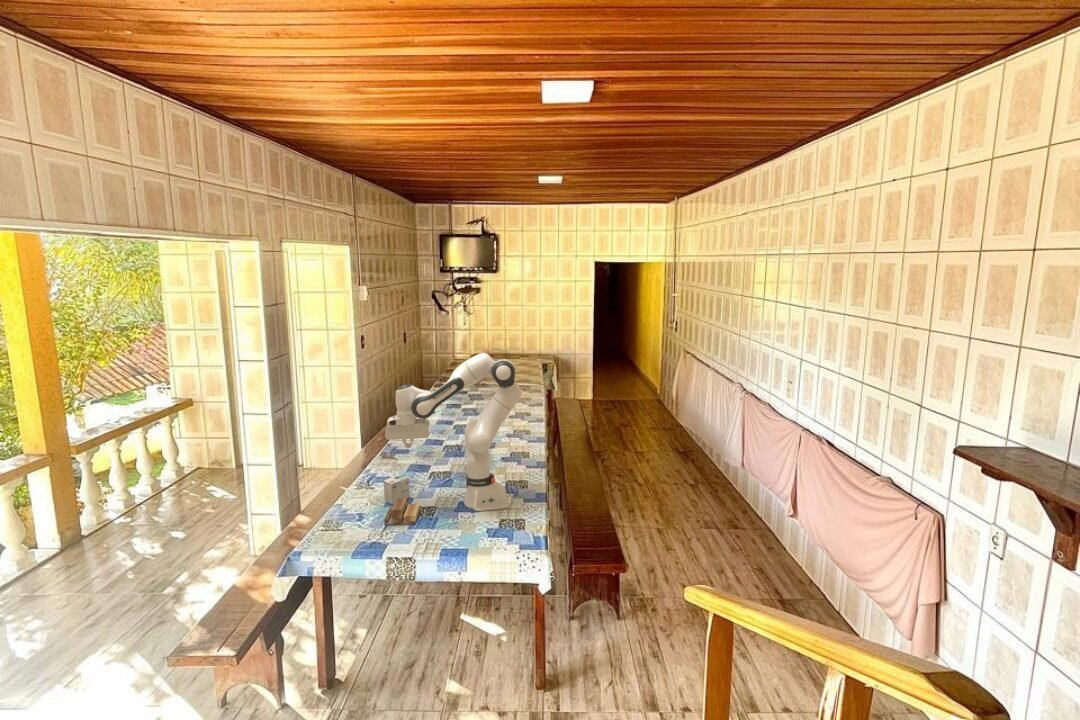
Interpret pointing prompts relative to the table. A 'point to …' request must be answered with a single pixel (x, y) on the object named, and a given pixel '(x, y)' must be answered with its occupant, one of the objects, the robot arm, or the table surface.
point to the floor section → (405, 515)
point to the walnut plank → (399, 510)
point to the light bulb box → (396, 488)
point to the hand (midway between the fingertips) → (408, 447)
